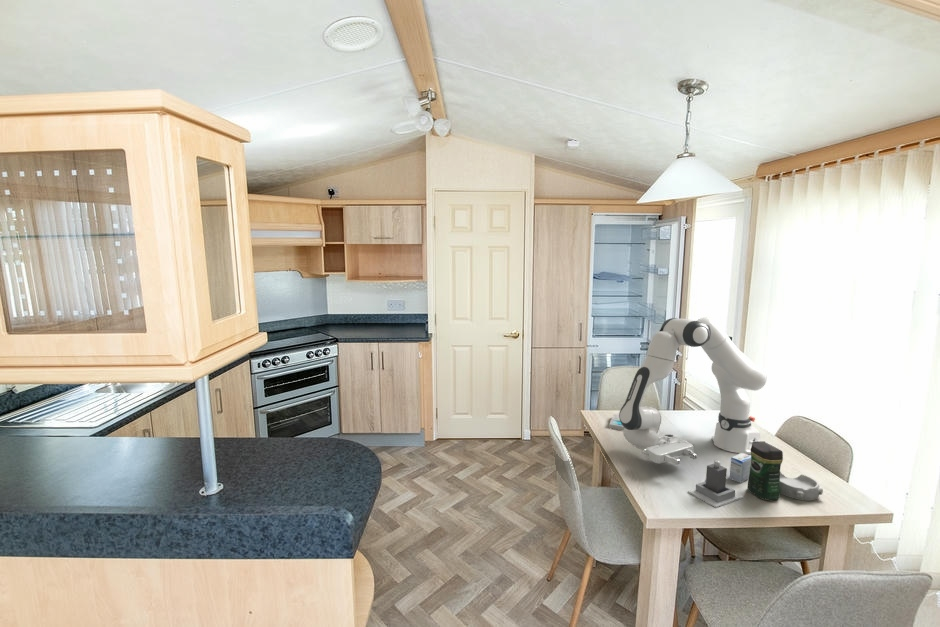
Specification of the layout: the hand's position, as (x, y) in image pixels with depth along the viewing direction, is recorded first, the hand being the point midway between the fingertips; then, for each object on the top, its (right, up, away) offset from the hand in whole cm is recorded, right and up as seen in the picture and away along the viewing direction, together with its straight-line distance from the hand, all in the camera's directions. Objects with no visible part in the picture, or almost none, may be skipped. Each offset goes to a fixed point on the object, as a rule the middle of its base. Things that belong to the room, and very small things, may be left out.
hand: (687, 459), depth 171 cm
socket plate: (+5, -9, -10) cm, 15 cm away
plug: (+5, -9, -10) cm, 14 cm away
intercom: (-3, 0, +59) cm, 59 cm away
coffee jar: (+23, -10, -9) cm, 26 cm away
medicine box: (+21, -8, +2) cm, 23 cm away
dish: (+35, -10, -8) cm, 37 cm away
